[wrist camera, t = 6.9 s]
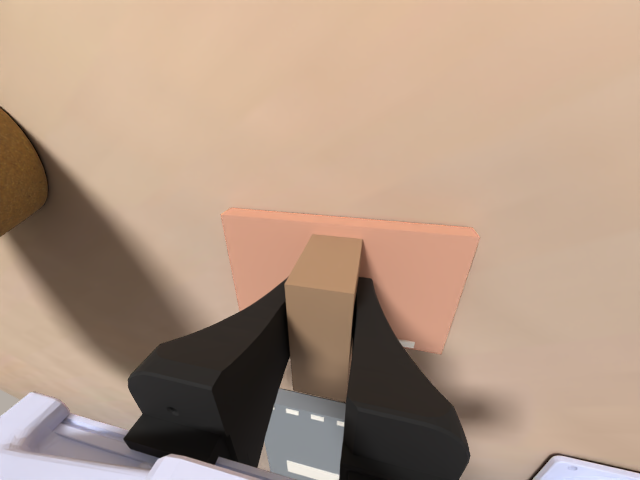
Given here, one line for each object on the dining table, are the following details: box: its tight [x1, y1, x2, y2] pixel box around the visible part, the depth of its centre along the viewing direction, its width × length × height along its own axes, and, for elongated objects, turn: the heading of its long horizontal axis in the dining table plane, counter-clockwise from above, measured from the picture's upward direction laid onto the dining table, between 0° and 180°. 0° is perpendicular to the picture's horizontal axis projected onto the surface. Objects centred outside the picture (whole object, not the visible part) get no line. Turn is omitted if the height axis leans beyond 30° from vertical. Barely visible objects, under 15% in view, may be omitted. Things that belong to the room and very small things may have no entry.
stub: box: [221, 208, 480, 402], centre depth 12 cm, size 12×7×5 cm, turn 90°
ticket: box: [264, 389, 346, 480], centre depth 22 cm, size 12×14×1 cm
